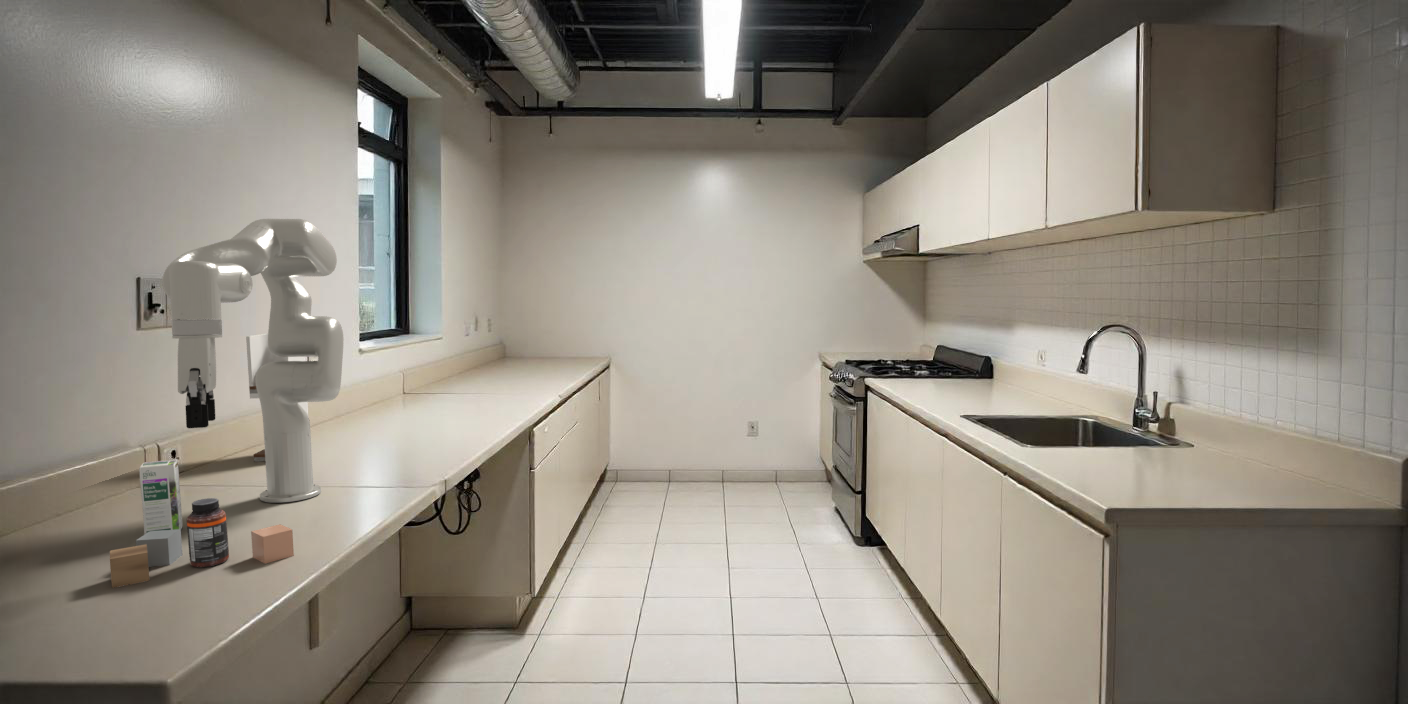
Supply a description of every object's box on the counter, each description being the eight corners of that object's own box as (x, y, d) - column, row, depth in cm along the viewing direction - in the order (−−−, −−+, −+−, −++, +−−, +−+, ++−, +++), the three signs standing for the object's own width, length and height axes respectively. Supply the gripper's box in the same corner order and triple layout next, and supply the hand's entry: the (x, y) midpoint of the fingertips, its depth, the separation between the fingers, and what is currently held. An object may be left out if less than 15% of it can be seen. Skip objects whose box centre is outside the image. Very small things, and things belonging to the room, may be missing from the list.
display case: (272, 452, 223) (265, 333, 220) (310, 451, 225) (303, 333, 221) (253, 461, 212) (246, 336, 209) (293, 460, 213) (286, 336, 210)
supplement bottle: (201, 556, 139) (197, 496, 138) (236, 555, 140) (232, 495, 138) (182, 569, 133) (177, 506, 132) (218, 568, 134) (213, 505, 133)
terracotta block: (252, 557, 139) (251, 531, 138) (281, 550, 143) (280, 524, 142) (264, 564, 136) (263, 536, 135) (293, 556, 140) (292, 529, 139)
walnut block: (112, 579, 129) (110, 550, 129) (148, 572, 132) (146, 544, 132) (112, 588, 125) (109, 559, 125) (149, 581, 128) (147, 552, 128)
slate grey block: (151, 557, 139) (149, 531, 139) (182, 555, 140) (180, 529, 140) (137, 567, 134) (135, 540, 134) (169, 565, 135) (167, 538, 135)
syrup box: (143, 540, 148) (138, 467, 147) (149, 531, 153) (143, 460, 152) (179, 535, 151) (173, 463, 149) (183, 526, 156) (178, 457, 155)
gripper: (180, 329, 143) (184, 420, 144) (163, 331, 128) (168, 432, 129) (227, 328, 147) (230, 417, 147) (215, 330, 131) (220, 428, 132)
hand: (201, 424), depth 138 cm, fingers open, 9 cm apart
